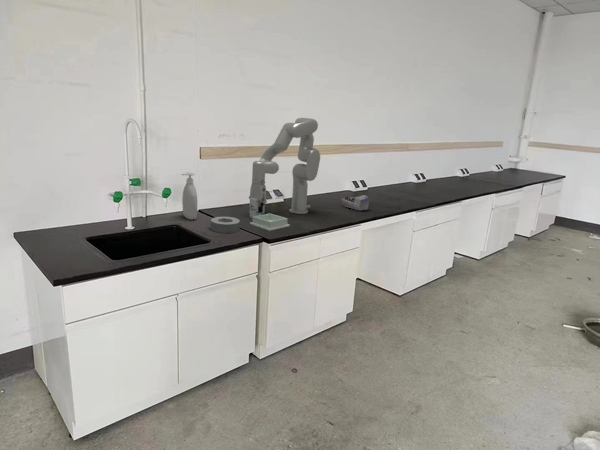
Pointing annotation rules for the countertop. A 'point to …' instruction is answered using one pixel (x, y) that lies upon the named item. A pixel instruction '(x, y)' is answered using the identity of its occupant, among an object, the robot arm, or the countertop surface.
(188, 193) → the soap bottle
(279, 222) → the dock
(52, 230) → the countertop surface
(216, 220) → the tape roll
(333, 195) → the countertop surface
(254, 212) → the ink box
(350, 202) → the cell model
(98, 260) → the countertop surface
